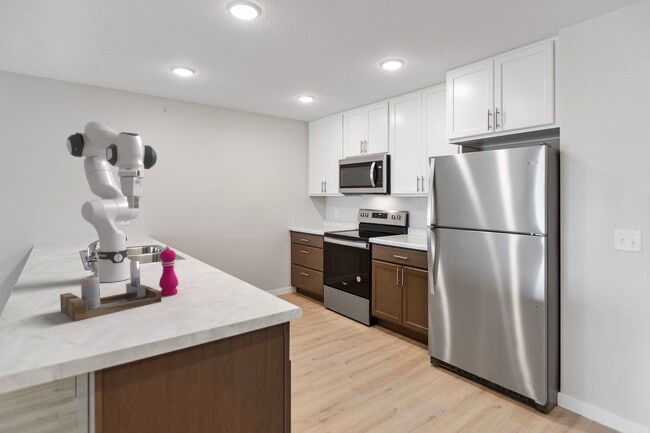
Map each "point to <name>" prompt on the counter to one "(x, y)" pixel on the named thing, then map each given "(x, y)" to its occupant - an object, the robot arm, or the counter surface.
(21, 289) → the counter surface
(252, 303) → the counter surface
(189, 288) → the counter surface
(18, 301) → the counter surface
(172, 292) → the pepper mill
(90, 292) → the energy drink
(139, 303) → the press frame
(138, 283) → the press jaw
